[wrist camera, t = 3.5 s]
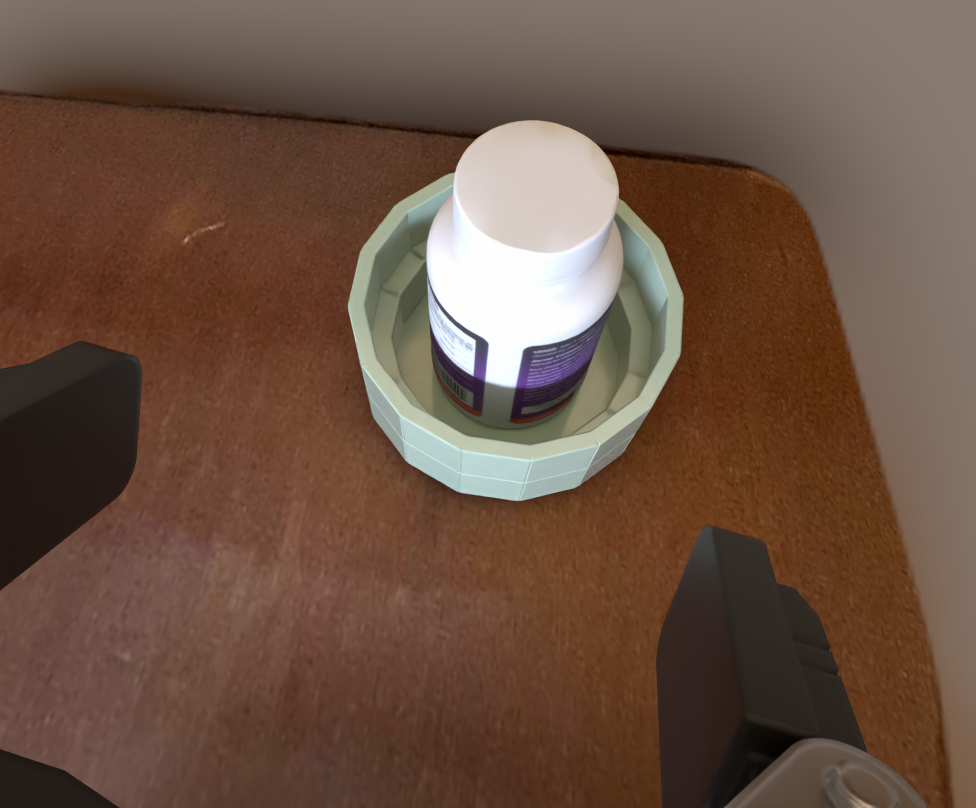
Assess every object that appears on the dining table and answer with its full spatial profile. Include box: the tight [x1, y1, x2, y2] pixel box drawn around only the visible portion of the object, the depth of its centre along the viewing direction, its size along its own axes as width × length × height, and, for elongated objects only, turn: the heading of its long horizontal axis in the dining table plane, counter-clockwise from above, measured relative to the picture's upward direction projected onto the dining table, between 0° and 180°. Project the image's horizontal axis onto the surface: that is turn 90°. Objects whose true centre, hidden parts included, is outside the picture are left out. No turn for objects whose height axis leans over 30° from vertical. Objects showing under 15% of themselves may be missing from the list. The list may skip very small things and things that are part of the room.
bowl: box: [348, 173, 684, 501], centre depth 26 cm, size 10×10×4 cm
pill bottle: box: [426, 120, 624, 428], centre depth 24 cm, size 5×5×10 cm
